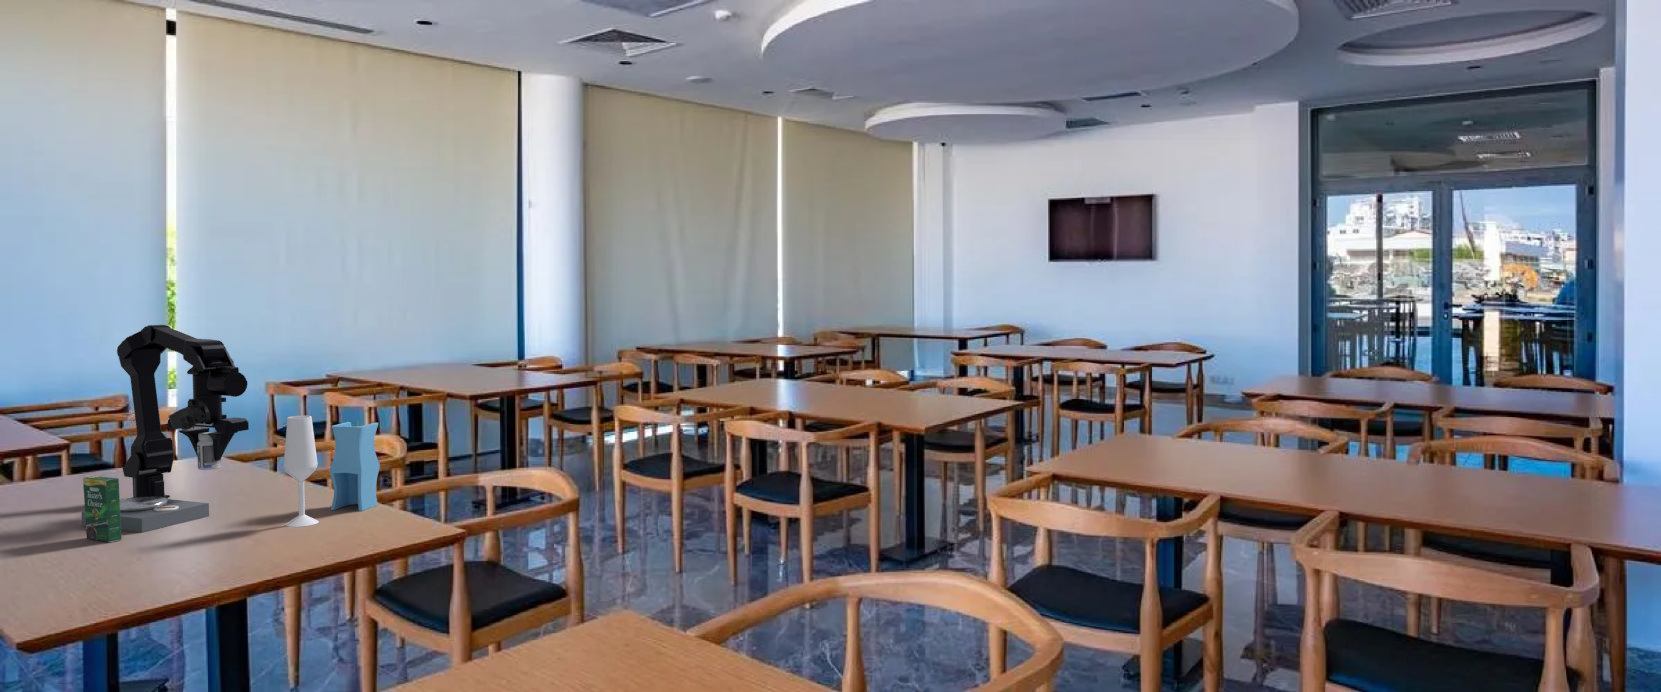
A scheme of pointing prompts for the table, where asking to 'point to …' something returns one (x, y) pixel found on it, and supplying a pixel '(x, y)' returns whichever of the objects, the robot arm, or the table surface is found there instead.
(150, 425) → the robot arm
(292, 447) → the champagne flute
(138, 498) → the scale pan
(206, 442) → the pill bottle
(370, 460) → the blue wavy hollow stand
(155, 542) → the table surface
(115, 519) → the coffee box
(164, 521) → the scale
